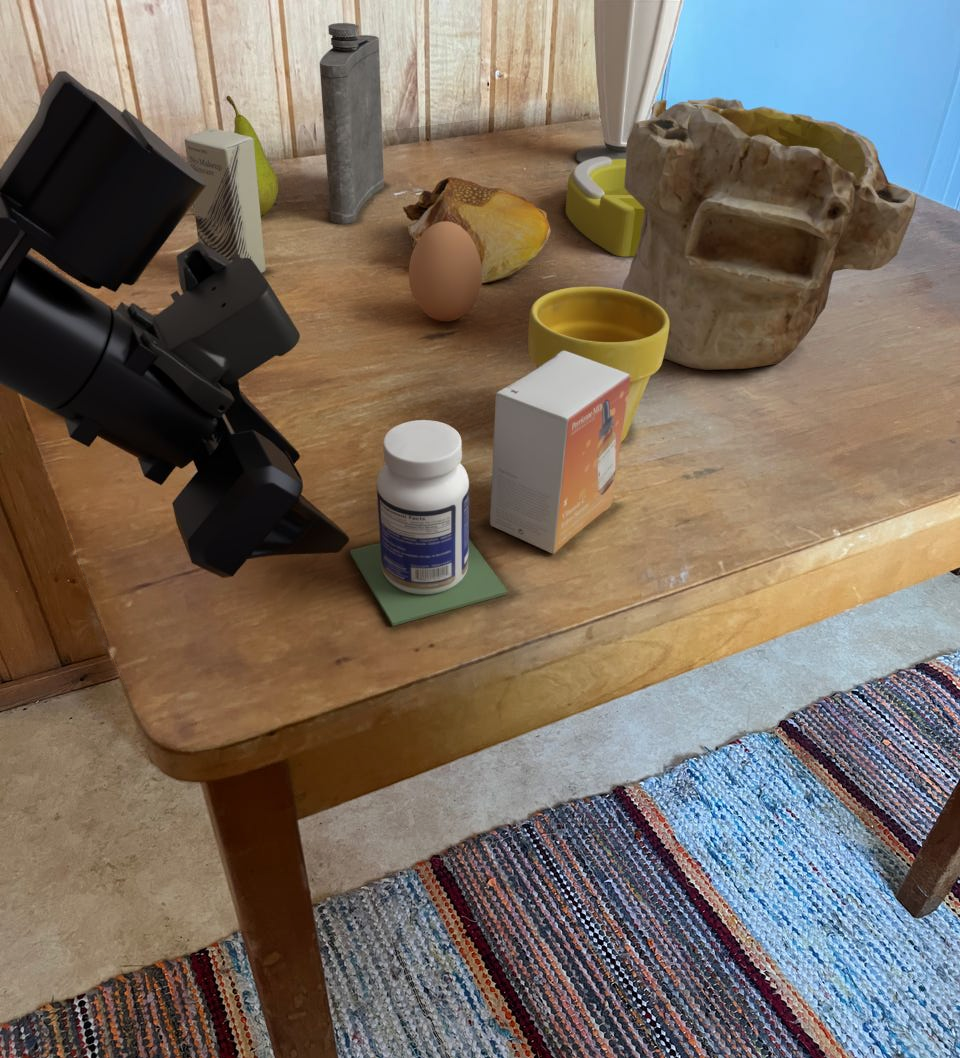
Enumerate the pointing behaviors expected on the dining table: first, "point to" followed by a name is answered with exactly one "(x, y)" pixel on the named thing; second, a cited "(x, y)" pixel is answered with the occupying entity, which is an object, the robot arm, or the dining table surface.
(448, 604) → the mat
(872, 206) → the ceramic vessel
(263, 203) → the fruit
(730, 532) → the dining table surface
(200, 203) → the box
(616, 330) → the flower pot
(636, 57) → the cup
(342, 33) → the flask
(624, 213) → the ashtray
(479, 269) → the egg
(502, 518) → the small box
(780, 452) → the dining table surface
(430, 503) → the pill bottle
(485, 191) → the seashell
